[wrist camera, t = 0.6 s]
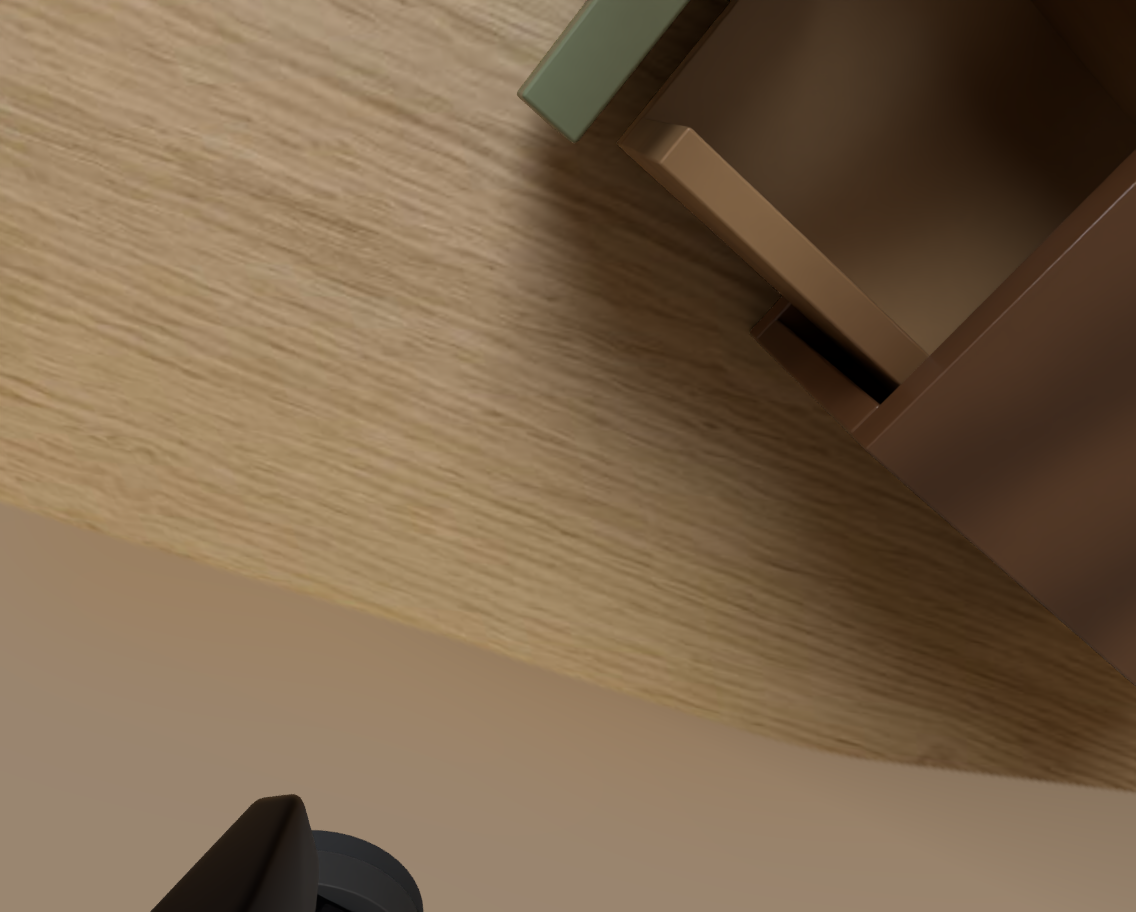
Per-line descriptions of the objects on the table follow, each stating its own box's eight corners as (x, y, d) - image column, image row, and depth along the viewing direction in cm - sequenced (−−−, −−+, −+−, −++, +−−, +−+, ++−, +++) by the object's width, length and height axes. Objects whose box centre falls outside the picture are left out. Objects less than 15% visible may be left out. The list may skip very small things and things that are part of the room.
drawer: (475, 58, 20) (461, 43, 14) (794, -375, 18) (952, -632, 11) (890, 430, 25) (1021, 545, 18) (1196, 127, 22) (1471, 142, 16)
